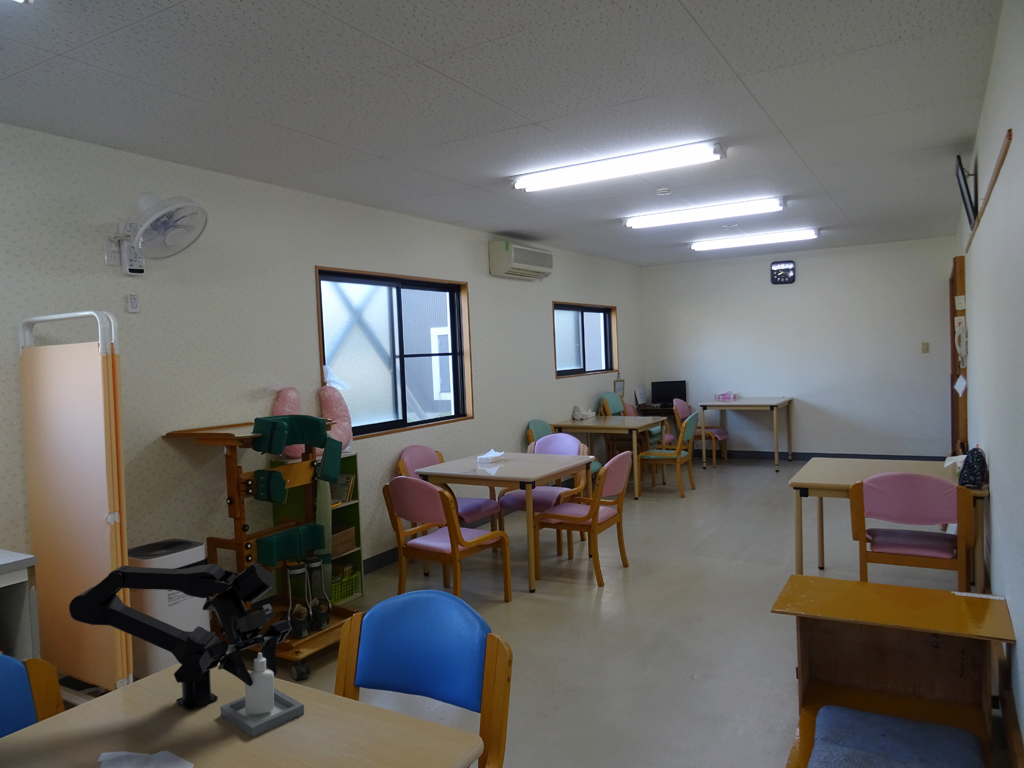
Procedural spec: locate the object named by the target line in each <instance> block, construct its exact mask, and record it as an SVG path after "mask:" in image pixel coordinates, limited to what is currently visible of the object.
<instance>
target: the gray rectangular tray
mask: <svg viewBox="0 0 1024 768" xmlns="http://www.w3.org/2000/svg"><path fill="white" fill-rule="evenodd" d="M219 708H220V709H219V710H220V717H221V718H223V719H225V720H226V721H227V722H229V723H230V724H232V725H233V726H235V727H236V728H238V729H240V731H242V732H243V733H245V734H247V736H250V737H251V738H252V739H253V738H255V737H258V736H259V735H261V734H264V733H266V732H268V731H271V730H272V729H275V728H276V727H280V726H282V725H284V724H286V723H288V722H290V721H292V720H294V719H296V718H299V717H301V716H303V715H304V714H305V704H304V703H302V702H300V701H299V700H296V699H294V698H292V697H291V696H289V695H287V694H285V692H282V691H280V690H279V689H277V688H275V687H274V708H273V710H271V711H269V712H265V713H261V714H247V713H246V712H245V696H243V697H240V698H237V699H235V700H233V701H230V702H228V703H227V702H226V704H222V705H220V706H219Z"/></svg>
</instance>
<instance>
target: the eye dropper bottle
mask: <svg viewBox="0 0 1024 768" xmlns="http://www.w3.org/2000/svg"><path fill="white" fill-rule="evenodd" d="M248 672H249V674H250V676H251V679H252V682H253V684H252V686H248V685H247V684H246V683H244V686H245V690H244V691H245V695H244V697H245V712H246V713H247V714H261V713H265V712H269V711H271V710H273V708H274V688H275V676H274V672H273V671H272V670H269V668H267V665H266V658H263V657H262V653H259V652H258V653H257V657H256V658H254V659H253V670H252V671H248Z"/></svg>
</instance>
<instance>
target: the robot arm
mask: <svg viewBox="0 0 1024 768" xmlns="http://www.w3.org/2000/svg"><path fill="white" fill-rule="evenodd" d="M270 572H271V571H269V569H266V568H264V566H261V565H259V564H257V562H256V561H254V562H252V563H250V565H249V566H248V567H246V569H245V570H243V571H242V572H241V573H240V572H236V571H232V570H227V569H224V568H223V567H222V566H221V565H219V564H217V563H209V564H201V565H200V564H199V565H196V566H191V567H187V568H167V567H166V568H163V567H146V566H145V567H140V566H130V565H120V566H118V567H117V568H115V569H114V570H112V571H110V572H109V574H108V575H107V576H105V578H104V579H103V580H101V581H100V582H99V583H97V584H96V585H94V586H91V587H89V588H88V589H86V590H85V591H83V592H81V593H80V594H78V595H77V596H75V597H73V599H72V600H71V601H70V603H69V604H68V608H69V609H68V611H69V613H70V614H69V615H70V617H71V619H72V620H74V621H76V622H78V623H79V622H80V623H83V624H87V625H91V626H110V627H112V628H114V629H117V630H119V631H121V632H123V633H126V634H128V635H131V636H133V637H135V638H137V639H139V640H141V641H145V642H147V643H149V644H152V645H154V646H155V647H158V648H160V649H163V650H165V651H167V652H169V653H171V654H172V655H173V656H174V658H175V659H176V661H177V662H178V663H179V664H180V666H179V667H178V668H177V670H175V672H174V673H173V677H174V679H175V681H176V683H179V684H181V694H182V695H181V696H182V697H180V698H177V699H176V700H175V701H176V703H177V704H178V705H179V706H181V707H182V708H183V709H185V710H186V711H193V710H195V709H197V708H201V707H202V706H204V705H207V704H210V703H212V702H214V701H217V700H218V699H219V698H218V696H217V695H216V694H215V693H213V692H212V683H211V670H212V669H215V668H217V669H218V670H220V671H221V670H225V671H226V672H227V673H229V674H231V675H233V676H235V677H236V678H238V679H239V680H240V681H242V682H243V683H244V684H245V683H246V684H247V685H248V686H252V684H253V682H252V679H251V676H250V674H249V672H250V671H249V669H248V668H247V666H246V664H245V663H244V661H243V656H242V651H244V650H247V649H249V648H252V647H255V646H258V645H260V648H261V650H260V651H258V653H262V657H263V658H266V668H267V669H269V670H272V671H273V672H274V677H276V676H277V675H278V664H277V663H278V661H277V652H276V651H277V644H281V643H282V642H284V640H285V639H286V637H288V635H289V634H290V632H291V631H292V630H293V628H292V625H291V623H290V621H288V620H286V619H283V620H280V621H276V622H274V623H271V624H270V622H269V620H271V619H274V618H275V612H274V608H273V607H272V605H271V603H266V604H263V605H261V606H259V607H258V611H255V612H254V611H253V610H252V609H247V607H246V605H245V603H248V602H249V603H254V602H255V601H256V600H258V599H259V598H261V597H262V596H263V595H264V594H265V593H267V592H268V591H269V590H270V589H272V588H273V587H274V586H275V585H276V584H275V583H276V582H275V580H274V577H273V575H272V573H270ZM122 589H137V590H139V589H140V590H143V589H144V590H162V591H163V590H165V591H177V592H181V593H182V594H184V595H186V596H189V597H195V598H200V599H206V600H205V601H204V602H205V603H204V604H203V606H202V611H209V612H212V611H213V612H215V614H216V616H217V619H218V620H219V623H220V625H221V629H220V630H219V631H220V633H221V635H225V636H226V638H227V640H228V642H229V644H228V642H226V641H224V640H221V639H220V638H219V637H218V636H217V635H215V634H216V631H214V632H213V631H209V630H207V629H205V628H204V627H202V626H199V625H198V626H197V627H195V629H194V630H192V631H188V630H187V631H186V630H183V629H180V628H178V627H176V626H173V625H171V624H169V623H168V622H167V623H166V622H164V621H162V620H159V619H157V618H155V617H153V616H150V615H148V614H147V613H144V612H141V611H139V610H137V609H135V608H133V607H130V606H128V605H126V604H125V603H124V602H123V600H122V599H121V598H120V596H119V595H118V593H119V592H120V591H121V590H122ZM214 594H215V595H214ZM213 595H214V596H213ZM211 596H213V597H211ZM269 624H270V625H269ZM266 625H269V626H268V627H267V629H266V631H264V632H262V633H259V632H261V631H263V626H266Z"/></svg>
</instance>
